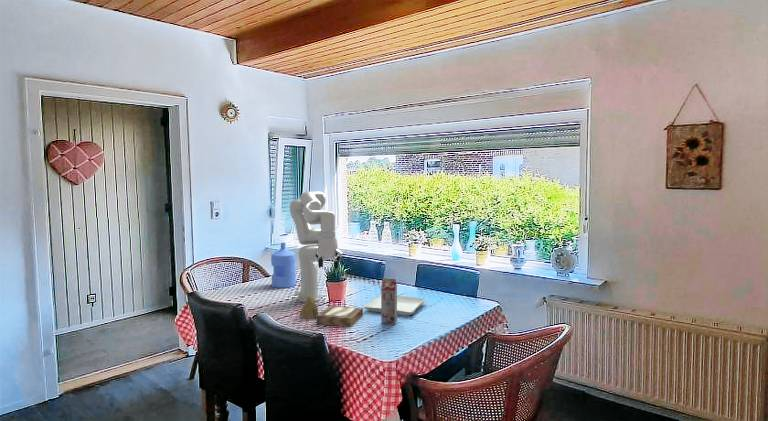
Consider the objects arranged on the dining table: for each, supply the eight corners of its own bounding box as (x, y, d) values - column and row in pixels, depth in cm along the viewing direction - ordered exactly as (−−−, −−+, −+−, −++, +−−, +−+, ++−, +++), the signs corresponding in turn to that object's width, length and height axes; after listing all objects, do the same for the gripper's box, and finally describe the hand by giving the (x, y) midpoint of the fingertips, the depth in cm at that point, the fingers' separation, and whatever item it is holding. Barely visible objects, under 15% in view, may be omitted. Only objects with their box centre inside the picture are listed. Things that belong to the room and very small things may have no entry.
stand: (316, 323, 235) (316, 315, 235) (330, 313, 252) (330, 305, 252) (351, 326, 230) (351, 318, 230) (362, 315, 247) (362, 307, 247)
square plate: (362, 313, 253) (362, 305, 253) (382, 300, 279) (382, 293, 278) (411, 318, 244) (411, 311, 243) (427, 304, 269) (427, 298, 269)
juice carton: (394, 324, 233) (394, 280, 231) (381, 324, 234) (381, 279, 232) (396, 320, 239) (396, 277, 237) (383, 320, 240) (383, 276, 238)
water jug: (288, 281, 326) (287, 240, 323) (300, 285, 314) (299, 243, 312) (267, 285, 315) (266, 243, 313) (279, 289, 304) (278, 245, 301)
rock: (324, 313, 243) (319, 306, 252) (314, 302, 240) (309, 295, 249) (307, 328, 241) (302, 319, 250) (297, 316, 238) (293, 308, 247)
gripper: (310, 235, 248) (310, 267, 250) (337, 236, 240) (338, 270, 242) (318, 233, 255) (319, 265, 256) (346, 235, 247) (346, 268, 248)
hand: (328, 267), depth 249 cm, fingers open, 9 cm apart
